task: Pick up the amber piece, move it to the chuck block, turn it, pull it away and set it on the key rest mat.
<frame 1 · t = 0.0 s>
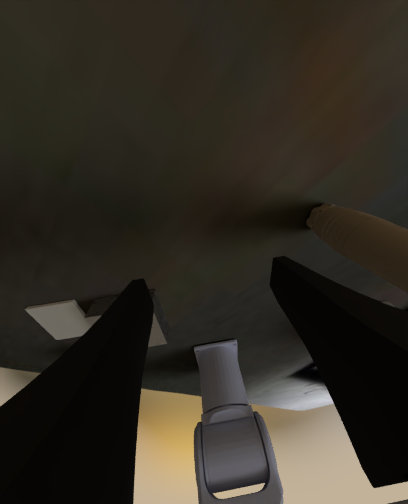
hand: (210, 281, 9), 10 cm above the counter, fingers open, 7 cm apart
key rest mat: (65, 319, 24), on the counter
handle: (317, 216, 20), on the counter
chuck block: (135, 313, 25), on the counter
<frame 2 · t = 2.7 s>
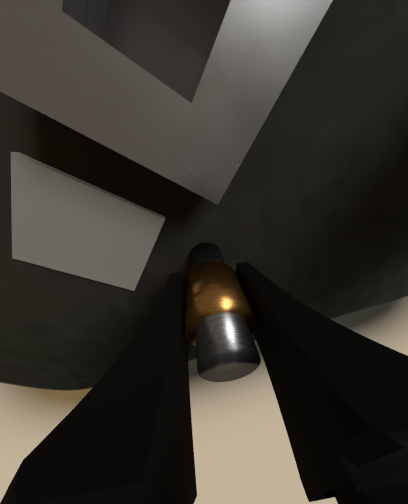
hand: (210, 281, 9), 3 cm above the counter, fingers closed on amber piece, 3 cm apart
key rest mat: (91, 235, 10), on the counter
amber piece: (205, 256, 12), on the counter, touching gripper
chuck block: (166, 40, 6), on the counter
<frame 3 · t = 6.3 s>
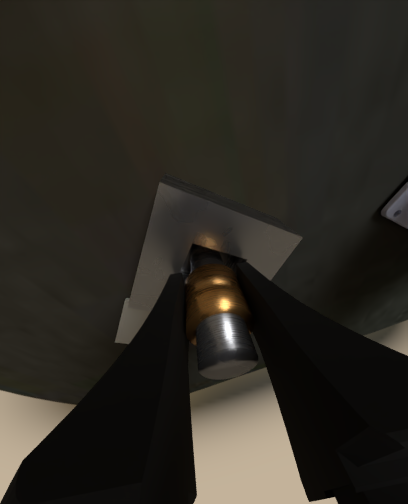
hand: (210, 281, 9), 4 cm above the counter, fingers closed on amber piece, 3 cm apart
key rest mat: (158, 325, 17), on the counter
amber piece: (205, 257, 12), point 1 cm above the counter, touching gripper
chuck block: (203, 249, 13), on the counter
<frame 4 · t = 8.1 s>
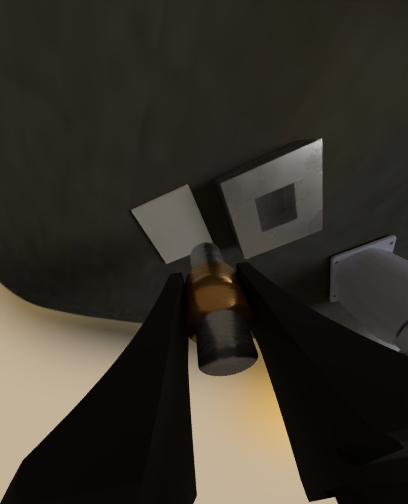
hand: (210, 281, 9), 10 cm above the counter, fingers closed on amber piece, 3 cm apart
key rest mat: (175, 227, 18), on the counter
amber piece: (205, 255, 12), point 7 cm above the counter, touching gripper
chuck block: (263, 200, 17), on the counter
when the fingers open (4 cm above the counter, at t = 9.7 s): amber piece stays where it is, resting on key rest mat.
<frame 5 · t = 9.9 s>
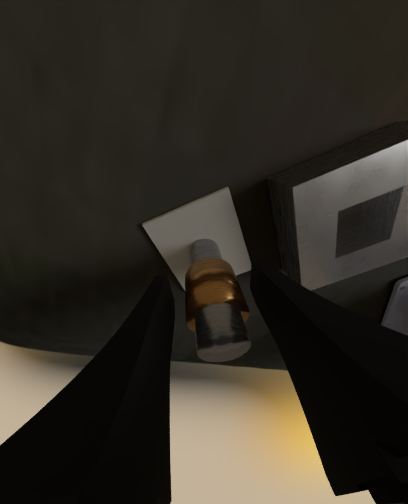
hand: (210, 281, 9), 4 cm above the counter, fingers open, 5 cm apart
key rest mat: (203, 247, 13), on the counter
amber piece: (204, 251, 12), resting on key rest mat
chuck block: (328, 210, 12), on the counter
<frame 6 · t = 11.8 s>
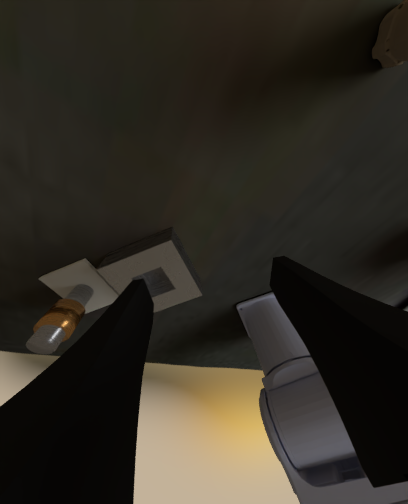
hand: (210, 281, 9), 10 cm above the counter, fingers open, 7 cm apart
key rest mat: (85, 287, 21), on the counter
amber piece: (83, 291, 21), resting on key rest mat
handle: (388, 39, 12), on the counter
chuck block: (157, 267, 21), on the counter
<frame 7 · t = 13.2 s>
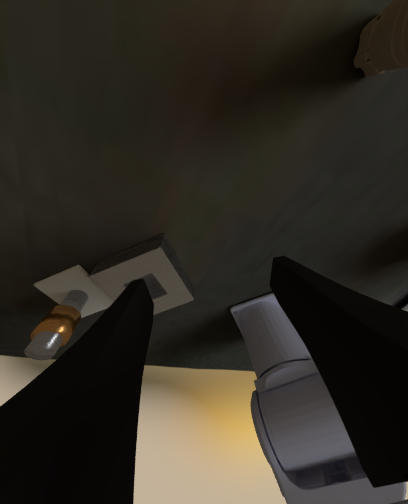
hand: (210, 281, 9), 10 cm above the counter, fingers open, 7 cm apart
key rest mat: (79, 293, 21), on the counter
amber piece: (78, 296, 21), resting on key rest mat
handle: (370, 48, 13), on the counter
chuck block: (150, 272, 21), on the counter
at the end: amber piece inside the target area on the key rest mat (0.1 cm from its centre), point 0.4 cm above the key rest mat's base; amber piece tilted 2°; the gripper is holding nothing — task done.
